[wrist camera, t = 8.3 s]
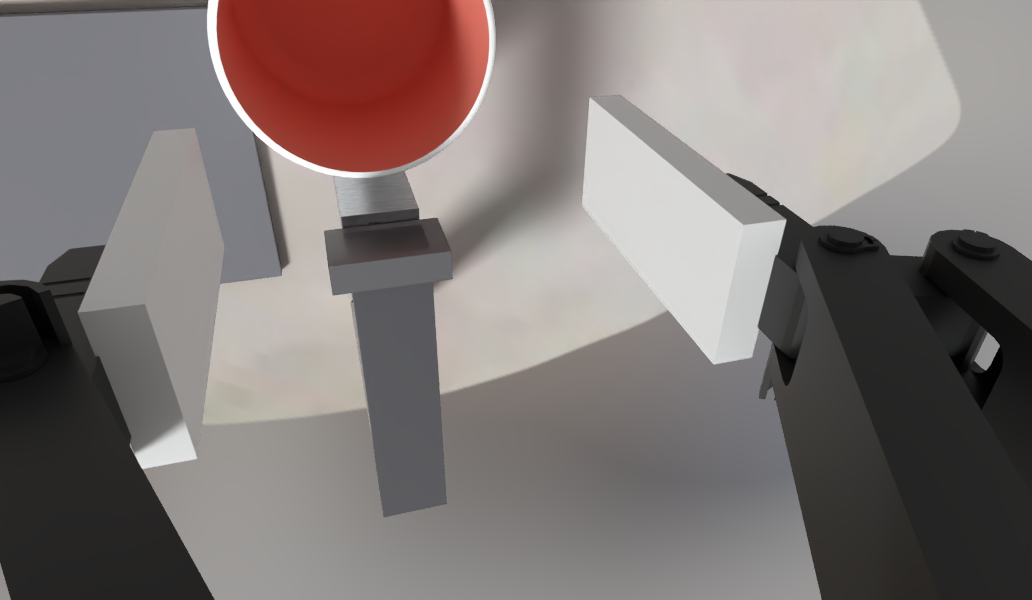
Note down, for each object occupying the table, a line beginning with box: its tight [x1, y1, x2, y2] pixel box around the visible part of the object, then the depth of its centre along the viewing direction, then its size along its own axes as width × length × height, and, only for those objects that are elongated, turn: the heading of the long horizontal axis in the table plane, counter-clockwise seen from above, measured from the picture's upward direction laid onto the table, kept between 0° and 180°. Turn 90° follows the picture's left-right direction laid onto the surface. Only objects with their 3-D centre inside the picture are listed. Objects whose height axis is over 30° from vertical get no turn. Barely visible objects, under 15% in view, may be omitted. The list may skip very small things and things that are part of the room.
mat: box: [0, 6, 282, 284], centre depth 33 cm, size 14×14×1 cm
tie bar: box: [324, 218, 453, 517], centre depth 30 cm, size 14×4×3 cm, turn 179°
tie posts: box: [333, 171, 419, 449], centre depth 31 cm, size 26×3×11 cm, turn 179°
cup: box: [207, 0, 496, 178], centre depth 29 cm, size 10×10×10 cm
